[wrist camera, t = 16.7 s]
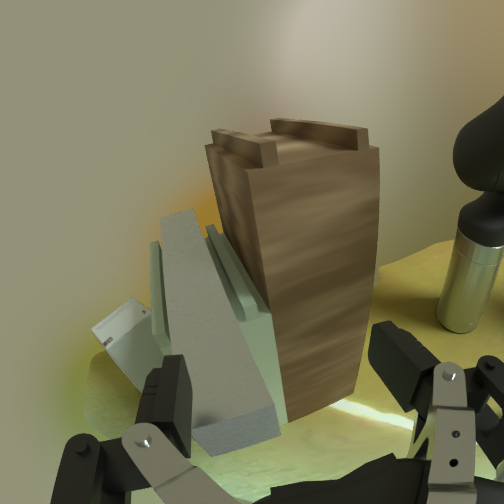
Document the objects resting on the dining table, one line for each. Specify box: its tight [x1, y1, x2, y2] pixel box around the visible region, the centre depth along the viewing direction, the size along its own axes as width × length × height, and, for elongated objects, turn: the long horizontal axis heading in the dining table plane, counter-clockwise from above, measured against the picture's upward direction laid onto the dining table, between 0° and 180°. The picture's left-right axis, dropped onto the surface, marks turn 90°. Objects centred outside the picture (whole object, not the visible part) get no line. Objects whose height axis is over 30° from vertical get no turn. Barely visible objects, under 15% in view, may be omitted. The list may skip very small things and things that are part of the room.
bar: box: [160, 209, 281, 457], centre depth 22 cm, size 26×4×4 cm, turn 18°
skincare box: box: [91, 297, 164, 393], centre depth 37 cm, size 8×6×15 cm
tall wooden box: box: [205, 118, 380, 423], centre depth 31 cm, size 16×10×34 cm, turn 18°
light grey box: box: [150, 224, 288, 426], centre depth 32 cm, size 16×9×22 cm, turn 18°
